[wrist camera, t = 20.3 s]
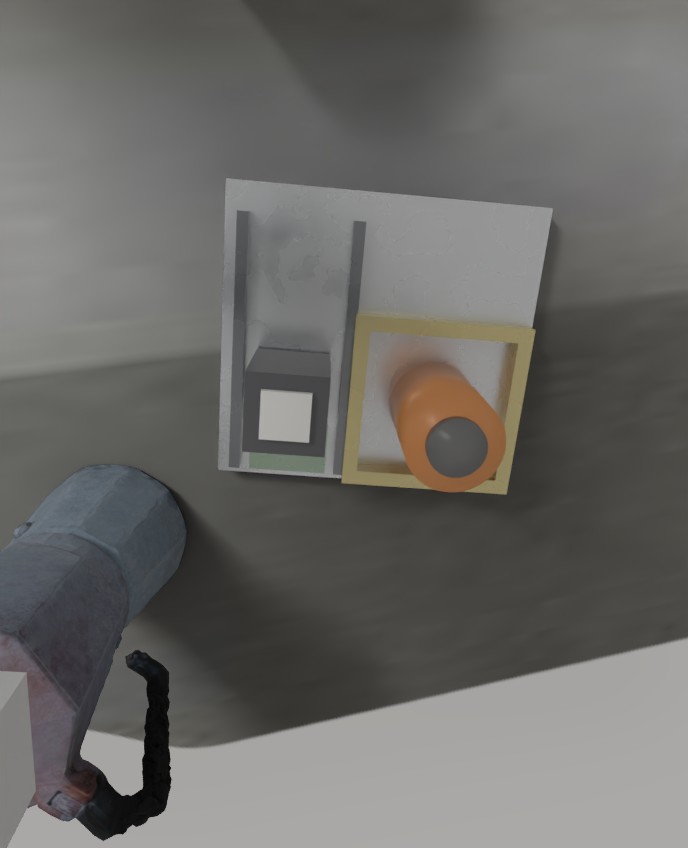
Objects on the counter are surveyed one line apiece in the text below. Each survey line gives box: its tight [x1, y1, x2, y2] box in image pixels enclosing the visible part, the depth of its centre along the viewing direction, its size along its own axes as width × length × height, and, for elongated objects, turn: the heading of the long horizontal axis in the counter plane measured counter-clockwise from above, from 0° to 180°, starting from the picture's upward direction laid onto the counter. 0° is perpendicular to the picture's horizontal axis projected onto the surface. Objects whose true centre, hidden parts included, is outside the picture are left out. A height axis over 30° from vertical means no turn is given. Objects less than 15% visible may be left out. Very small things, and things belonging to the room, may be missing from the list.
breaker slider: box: [242, 348, 331, 457], centre depth 33 cm, size 4×4×6 cm
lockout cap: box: [390, 363, 506, 492], centre depth 33 cm, size 5×5×8 cm
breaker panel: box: [218, 178, 553, 495], centre depth 35 cm, size 16×17×3 cm
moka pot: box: [0, 465, 187, 841], centre depth 30 cm, size 10×15×20 cm, turn 56°
